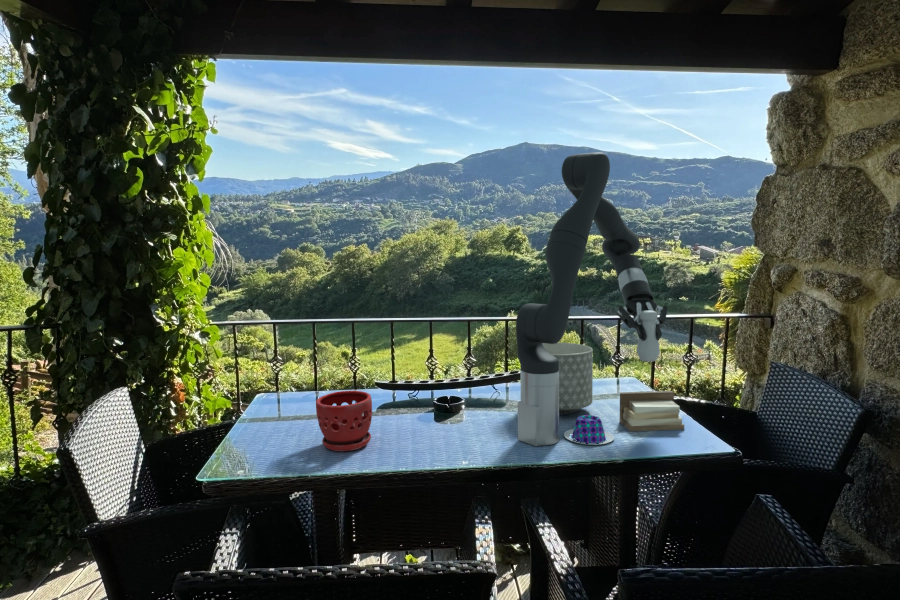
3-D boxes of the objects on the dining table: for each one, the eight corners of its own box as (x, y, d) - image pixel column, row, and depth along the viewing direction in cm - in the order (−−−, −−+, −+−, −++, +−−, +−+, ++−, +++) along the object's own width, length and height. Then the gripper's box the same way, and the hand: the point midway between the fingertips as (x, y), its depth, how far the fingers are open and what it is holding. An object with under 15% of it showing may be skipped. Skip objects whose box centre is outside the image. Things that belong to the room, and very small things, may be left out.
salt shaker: (662, 362, 142) (663, 312, 141) (640, 362, 142) (641, 312, 141) (655, 357, 148) (656, 309, 146) (633, 357, 148) (634, 309, 146)
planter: (595, 421, 148) (596, 355, 146) (524, 419, 151) (523, 354, 149) (589, 402, 166) (589, 342, 165) (525, 400, 169) (525, 342, 168)
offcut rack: (684, 429, 140) (685, 398, 139) (630, 431, 140) (630, 400, 139) (671, 420, 148) (671, 390, 147) (619, 421, 147) (619, 392, 147)
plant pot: (330, 435, 141) (328, 389, 140) (379, 437, 139) (378, 390, 137) (308, 454, 128) (306, 403, 127) (363, 456, 126) (361, 405, 125)
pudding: (604, 429, 142) (604, 410, 142) (621, 446, 130) (622, 424, 130) (558, 431, 141) (558, 411, 141) (572, 448, 129) (572, 426, 129)
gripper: (612, 279, 150) (628, 331, 139) (663, 278, 150) (683, 329, 139) (606, 297, 156) (620, 348, 145) (655, 296, 156) (673, 346, 145)
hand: (651, 338), depth 142 cm, fingers closed on salt shaker, 3 cm apart
